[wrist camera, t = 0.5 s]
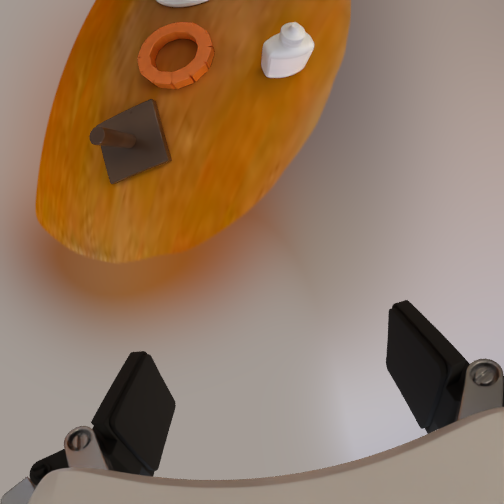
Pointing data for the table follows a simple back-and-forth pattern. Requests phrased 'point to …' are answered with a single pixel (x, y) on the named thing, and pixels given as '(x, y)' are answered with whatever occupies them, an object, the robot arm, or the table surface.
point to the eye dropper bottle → (286, 51)
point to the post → (132, 141)
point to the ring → (182, 75)
